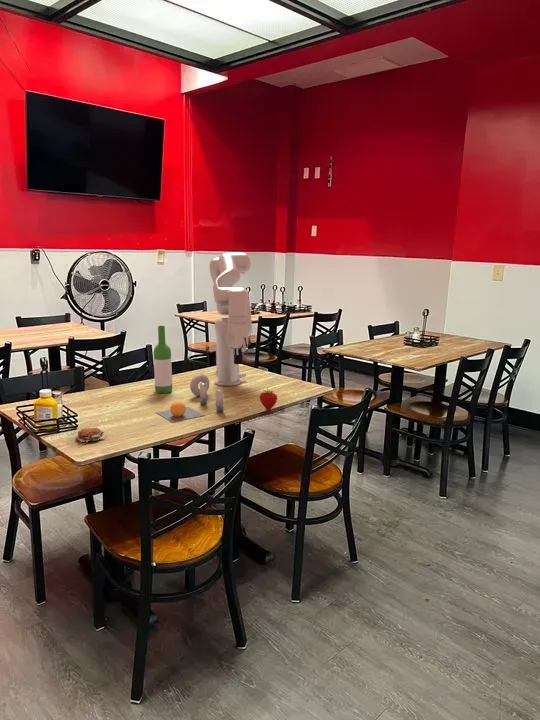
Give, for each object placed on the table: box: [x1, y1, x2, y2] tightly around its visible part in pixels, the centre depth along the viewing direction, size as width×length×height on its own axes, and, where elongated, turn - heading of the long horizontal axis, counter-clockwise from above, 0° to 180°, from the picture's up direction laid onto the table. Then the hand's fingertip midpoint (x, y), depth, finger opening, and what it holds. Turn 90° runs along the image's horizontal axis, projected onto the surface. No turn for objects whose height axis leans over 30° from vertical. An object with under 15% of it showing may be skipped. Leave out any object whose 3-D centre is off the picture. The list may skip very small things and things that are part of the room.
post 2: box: [215, 389, 224, 414], centre depth 211 cm, size 3×3×9 cm
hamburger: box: [75, 427, 105, 443], centre depth 181 cm, size 14×14×6 cm
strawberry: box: [259, 389, 278, 412], centre depth 214 cm, size 6×8×10 cm
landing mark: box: [156, 406, 206, 423], centre depth 210 cm, size 14×14×1 cm
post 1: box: [199, 382, 208, 406], centre depth 222 cm, size 3×3×9 cm
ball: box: [169, 401, 187, 417], centre depth 206 cm, size 6×6×6 cm
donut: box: [189, 373, 210, 397], centre depth 235 cm, size 10×4×10 cm, turn 138°
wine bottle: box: [153, 325, 173, 394], centre depth 240 cm, size 8×8×30 cm
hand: (238, 363), depth 222 cm, fingers closed
